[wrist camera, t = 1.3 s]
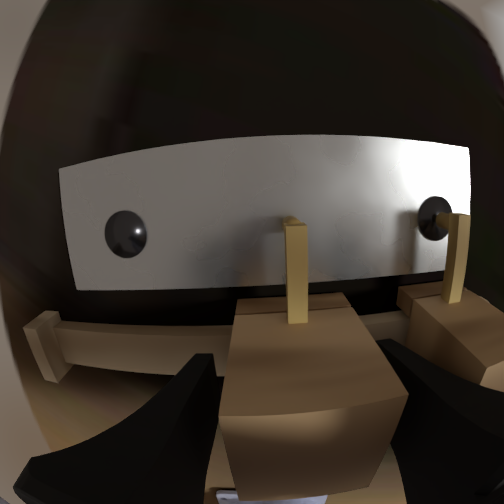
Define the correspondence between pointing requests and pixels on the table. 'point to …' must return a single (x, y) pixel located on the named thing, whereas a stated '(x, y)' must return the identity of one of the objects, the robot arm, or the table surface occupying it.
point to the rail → (152, 343)
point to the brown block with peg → (305, 391)
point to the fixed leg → (455, 316)
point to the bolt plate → (260, 210)
